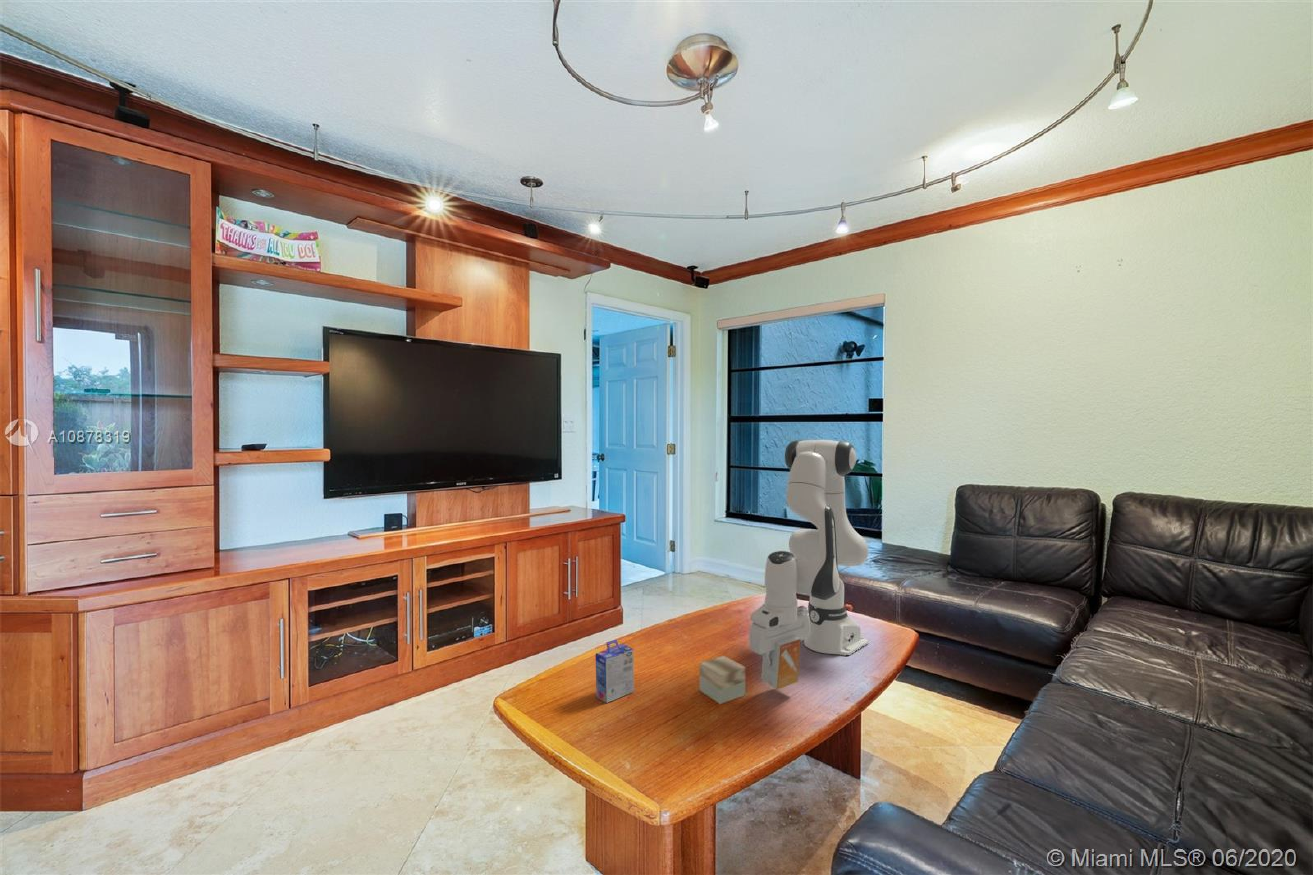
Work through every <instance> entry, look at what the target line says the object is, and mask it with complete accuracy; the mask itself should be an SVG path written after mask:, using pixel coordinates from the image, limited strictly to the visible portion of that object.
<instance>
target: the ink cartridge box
mask: <svg viewBox="0 0 1313 875" xmlns="http://www.w3.org/2000/svg"><path fill="white" fill-rule="evenodd" d="M605 643H606V649H605V650H602V651H599V652H596V653H595V687H596V688H595V690H596V691H595V692H596V697H597V698H598V699H599V700H600V701H602V702H604V703H605V704H607V703H608V704H609V702H612V701H615V700H618V699H620V698H622V697H624V696H626V695H629V694H631V693H634V691H635V689H634V688H635V680H634V675H635V674H634V672H635V670H634V656H635V655H634V649H633V647H630V646H628V645H627V644H624V643H622V644H619V643H618V640H617V639H612V640H610V641H607V642H605ZM612 644H615V645H613V646H610V645H612Z"/></svg>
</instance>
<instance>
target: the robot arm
mask: <svg viewBox="0 0 1313 875" xmlns="http://www.w3.org/2000/svg"><path fill="white" fill-rule="evenodd" d="M784 462H785V465H786V467H787V468H788V469H789V474H788V475H789V476H788V479H787V484H786V485H787V486H786V490H785V501H786V504H787V506H788V508H789V509H790V510H791V512H793V514H794V515H797V516H798V517H800V518H801V519H803V520H805V521H807V522H810V523H811V524H812V525H814V526H815V527H816V529H814V528H813V529H812V528H804V529H803V528H802V529H796V530H795V531H793V532H792V533H791V535H790V537H789V539H788V549H789V551H785V550H777V551H773V552H771V553H770V554H768V556H767V558H766V561H765V562H766V563H765V569H764V588H765V596H764V603H762V604H761V605H760V607H758V608H757V609H756V610H754V611H752V613H751V614H750V618H749V619H750V621H751V622H752V623H751V625H750V628H749V634H748V637H749V638H748V643H749V645H748V646H749V649H750V650H751V651H752V652H753V653H755V654H756V655H759V656H760V655H761V656H762V659H763V658H764V665H765V666H767V667H769V666H771V665H772V664H773V663H772V662H773V660H772V659H770V658H769V656H768V655H770V651H773V650H775V643H776V642H778V641H780V640H783V639H786V638H790V637H793V636H797V637H799V638H801V642H802V641H803V644H804V646H806V648H808V649H810V650H812V651H815V652H817V653H822V654H826V655H827V654H828V655H840V656H846V655H849V656H851V655H853V654H855V653H856V652H857V651H859V650H861V649H862V648H863V647H862V646H864V647H866V646H867V645H868V644H869V640H868V639H867V638H865V637H864V636H862V633H861V632H862V630H861V626H860V625H859V624H858V622H856V621H855V620H854V619H853V618H851V617H850V616H849V615H848V612H852V610H853V605H851V604H847V603H846V604H845V584H844V582H843V580H842V579H841V578H840V575H839V566H842V567H856V566H857V567H860V566H862V565H863V564H864V563H865V562H866V561H867V559H868V556H869V554H870V553H869V551H870V550H869V545H868V543H867V540H866V539H865V538H864V536H862V535H860V534H859V533H858V532H857V531H856V530H855V528H854V527H853V526H852V524H851V523H850V520H849V518H848V514H847V509H846V482H845V481H846V480H845V476H846V475H848V474H850V473H851V472H852V471H853V470H854V468H855V465H856V463H857V453H856V450H855V446H853V444H852V443H851V442H848V441H843V440H831V439H809V440H802V439H797V440H793V441H791V442H790V443H788V445H787V446H786V448H785V452H784ZM797 594H800V595H804V596H809V601H808V603H807V604H808V606H807V607H806V606H804V605H799V606H798V598H797ZM866 644H867V645H866ZM865 645H866V646H865ZM861 647H862V648H861ZM860 648H861V649H860ZM858 649H859V650H858ZM856 650H857V651H856ZM855 651H856V652H855ZM852 653H853V654H852Z"/></svg>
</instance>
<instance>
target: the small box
mask: <svg viewBox="0 0 1313 875" xmlns="http://www.w3.org/2000/svg"><path fill="white" fill-rule="evenodd" d="M801 643H802V641H801V638H799V637H797V636H793V637H790V638H786V639H783V640H780V641H778V642H776V643H775V650H773V651H770V655H768V656H769V658H770V659H772V660H773V662H772V663H773V664H772V665H771V666H769V667H767V666H765V665H764V658H763V657H762V664H761V680H762V681H764V682H765V683H766V684H768V685H769V686H771V687H772V688H773V689H775V690H777V691H779V689H781V688H785V687H787V686H790V685H793V684H795V683H797V682H798V675H799V664H800V652H801Z"/></svg>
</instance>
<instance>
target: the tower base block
mask: <svg viewBox="0 0 1313 875" xmlns="http://www.w3.org/2000/svg"><path fill="white" fill-rule="evenodd" d="M699 691H700V692H701V693H704V695H706V696H708V697H709V698H711V700H714V701H715V702H716V703H718V704H719V705H721V704H724V703H727V702H730V701H733V700H735V699H738V698H740V697H744V696H746V681H745V682H742V683H739V684H737V685H734V686H731V687H728V688H725V689H723V690H719V689H718V688H716V687H715V686H713V685H711V684H710V683H708V682H707V681H705V680H703V679H702V678H700V677H699Z"/></svg>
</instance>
